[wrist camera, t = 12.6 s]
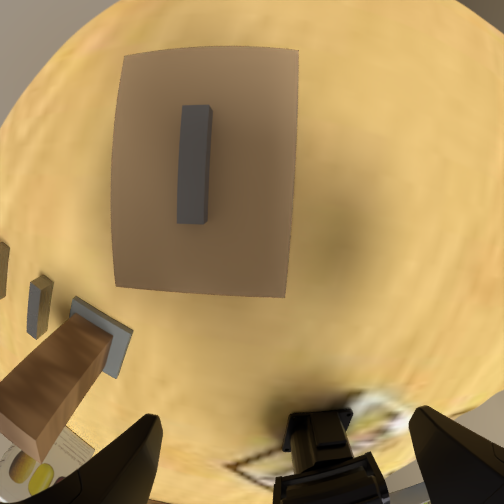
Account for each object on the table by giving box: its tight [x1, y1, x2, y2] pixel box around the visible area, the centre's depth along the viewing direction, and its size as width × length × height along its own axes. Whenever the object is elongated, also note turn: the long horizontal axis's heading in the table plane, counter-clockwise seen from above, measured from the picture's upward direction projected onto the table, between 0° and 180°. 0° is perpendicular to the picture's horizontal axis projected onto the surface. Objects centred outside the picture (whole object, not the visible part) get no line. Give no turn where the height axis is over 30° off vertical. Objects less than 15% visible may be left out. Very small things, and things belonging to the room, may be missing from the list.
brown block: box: [0, 313, 113, 464], centre depth 15 cm, size 4×4×12 cm
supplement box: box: [0, 426, 95, 503], centre depth 18 cm, size 10×9×17 cm
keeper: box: [0, 242, 54, 340], centre depth 19 cm, size 8×6×2 cm
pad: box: [69, 296, 133, 379], centre depth 21 cm, size 6×6×1 cm
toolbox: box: [111, 46, 299, 298], centre depth 14 cm, size 11×8×9 cm
